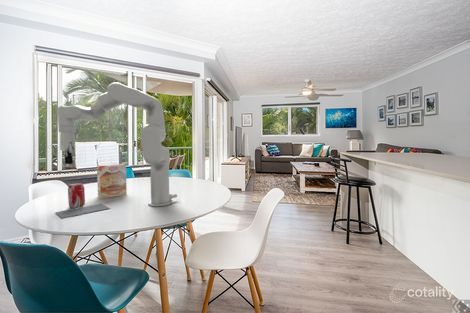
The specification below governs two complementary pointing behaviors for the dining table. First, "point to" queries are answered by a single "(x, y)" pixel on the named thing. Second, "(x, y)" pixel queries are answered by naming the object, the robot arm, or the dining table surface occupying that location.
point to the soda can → (76, 195)
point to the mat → (81, 211)
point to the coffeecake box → (111, 180)
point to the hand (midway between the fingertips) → (68, 163)
